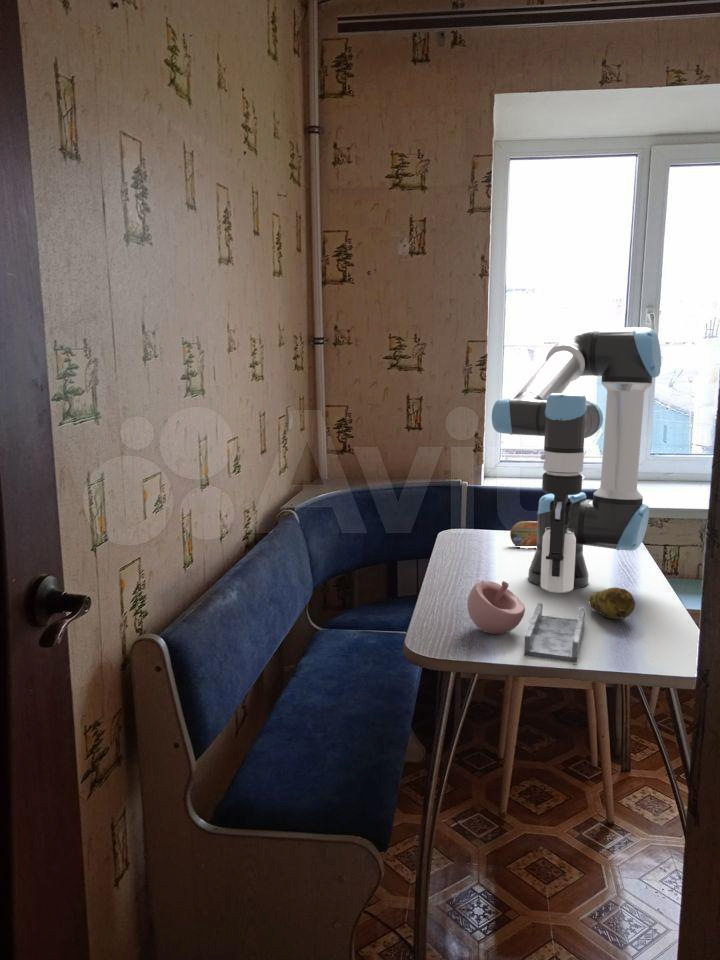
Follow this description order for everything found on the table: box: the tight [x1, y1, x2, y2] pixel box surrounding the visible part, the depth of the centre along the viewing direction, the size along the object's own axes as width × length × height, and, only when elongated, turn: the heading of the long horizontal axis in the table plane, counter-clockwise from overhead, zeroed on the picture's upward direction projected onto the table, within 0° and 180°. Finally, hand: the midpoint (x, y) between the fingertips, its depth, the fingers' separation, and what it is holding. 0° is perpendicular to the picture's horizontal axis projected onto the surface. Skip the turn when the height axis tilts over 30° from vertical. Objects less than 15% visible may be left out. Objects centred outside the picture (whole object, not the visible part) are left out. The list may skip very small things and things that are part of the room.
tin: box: [509, 520, 538, 547], centre depth 233 cm, size 15×3×8 cm, turn 88°
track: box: [523, 601, 586, 663], centre depth 158 cm, size 22×10×4 cm, turn 160°
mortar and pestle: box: [466, 580, 526, 635], centre depth 161 cm, size 12×12×12 cm
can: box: [539, 527, 576, 594], centre depth 153 cm, size 6×6×12 cm
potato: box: [588, 587, 636, 620], centre depth 170 cm, size 8×13×8 cm, turn 174°
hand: (556, 586), depth 153 cm, fingers closed on can, 6 cm apart
